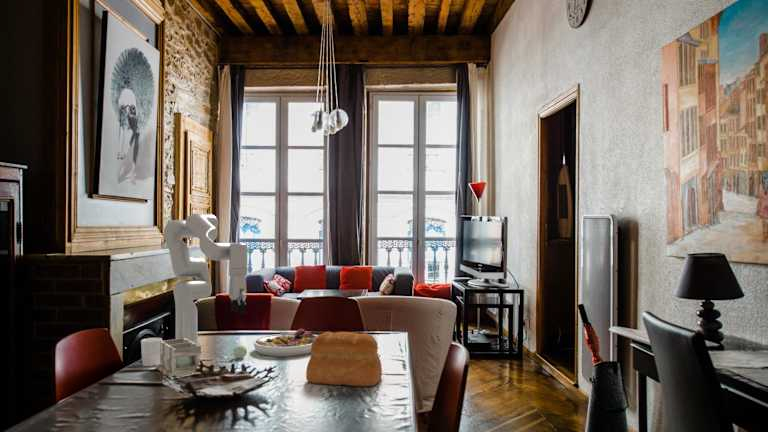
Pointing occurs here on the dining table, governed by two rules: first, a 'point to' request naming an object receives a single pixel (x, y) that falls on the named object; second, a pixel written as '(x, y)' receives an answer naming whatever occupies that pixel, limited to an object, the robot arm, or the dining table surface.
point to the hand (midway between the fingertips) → (238, 312)
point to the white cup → (150, 351)
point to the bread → (344, 360)
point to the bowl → (285, 344)
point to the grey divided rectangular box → (175, 350)
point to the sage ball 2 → (240, 351)
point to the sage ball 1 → (183, 362)
